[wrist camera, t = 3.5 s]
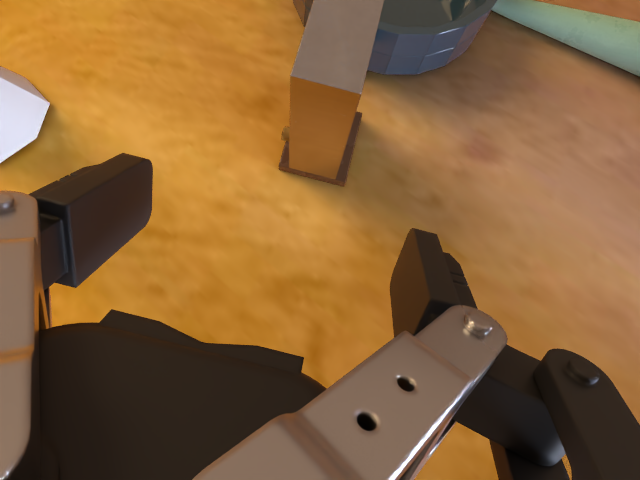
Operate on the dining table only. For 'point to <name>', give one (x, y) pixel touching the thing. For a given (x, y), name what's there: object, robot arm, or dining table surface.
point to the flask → (19, 112)
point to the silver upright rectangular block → (329, 88)
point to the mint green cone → (580, 30)
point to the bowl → (420, 33)
